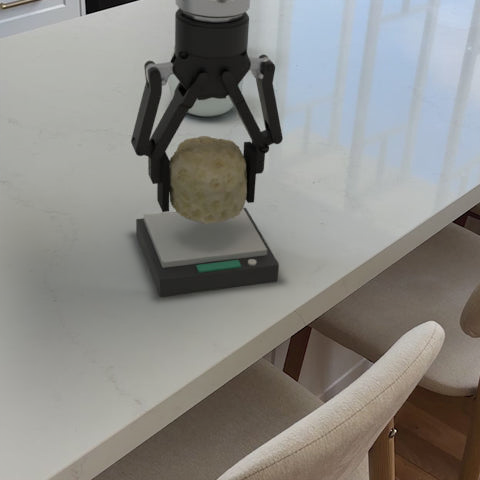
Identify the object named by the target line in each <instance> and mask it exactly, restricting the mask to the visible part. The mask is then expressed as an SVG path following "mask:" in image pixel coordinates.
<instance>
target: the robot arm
mask: <svg viewBox="0 0 480 480" xmlns="http://www.w3.org/2000/svg"><path fill="white" fill-rule="evenodd" d="M250 4H251V0H175V5H176V6H177V8H178V9H177V10H176V11H175V13H174V14H175V17H174V18H175V20H174V21H175V22H174V47H175V53H174V55H173V57H172V56H171V58H172V59H171V58H170V61H167V62H159V63H156V62H155V61H153V60H147V61H146V62H145V63H144V66H143V67H144V76H145V84H144V89H143V92H142V97H141V99H140V104H139V108H138V112H137V116H136V120H135V124H134V127H133V131H132V135H131V139H130V143H131V145H132V148H133V151H134V152H135V154H136V155H137V156H138V157H143V156H145V157H147V160H148V161H147V164H148V168H147V169H148V170H147V171H148V172H147V173H148V177H149V179H150V181H151V183H152V184H153V185H156V184H157V185H156V186H157V187H156V191H157V193H156V196H157V197H156V199H157V203H158V205H159V207H160V210H161V213H166V212H170V192H169V161H170V158H169V156H168V154H167V152H166V151H167V149H168V148H169V146H170V144H171V142H172V140H173V138H174V137H175V135H176V133H177V132H178V130H179V128H180V126H181V124H182V123H183V121H184V119H185V117H186V116H187V114H188V110H189V109H191V108H192V107H193V105H194V103H195V102H196V100H197V99H198V100H206V99H209V98H217V99H224V98H226V96H229V98H230V99H231V101H232V103H233V105H234V106H233V108H234V109H235V111H236V113H237V115H238V117H239V118H240V121H241V122H242V124H243V126H244V128H245V131H246V132H247V134H248V136H249V138H250V140H251V141H244V142H243V152H242V154H243V156H244V158H245V161H246V171H247V195H246V200H245V202H247V204H251V203H255V193H256V181H257V175H258V174H263V172H264V170H265V159H266V154H267V153H268V152H269V151H270V146H271V145H273V144H274V145H279V144H281V143H282V142H283V133H282V127H281V120H280V116H279V115H280V114H279V110H278V105H277V100H276V93H275V87H274V78H275V73H276V65H275V63H274V62H273V61H272V60H271V59H270V58H269V56H268V55H267V54H264V53H263V54H261V55H259V56H258V57H249V55H248V47H249V45H248V44H249V29H250V16H249V14H248V13H247V12H248V11H249V10H250V7H251V5H250ZM249 71H251V74H252V76H253V78H254V79H255V82H256V87H257V92H258V93H257V94H258V98H259V103H260V108H261V114H262V119H263V124H264V128H265V129H263V130H262V131H261V129H260V127H259V125H258V122H257V121H256V119H255V117H254V115H253V113H252V111H251V109H250V107H249V106H248V104H247V101H246V99H245V97H244V95H243V92H241V91H240V89H239V87H238V84H239V83H240V82H241V80H242V79H243V80H244V78H245V77H246V76H247V74H248V73H249ZM172 74H174V75H175V76H176V78H177V79H178V80H179V83H178V85H177V87H176V89H175V92H174V96H173V98H171V100H170V102H169V104H168V106H167V107H166V109H165V111H164V113H163V114H162V116H161V119H160V120H159V122H158V124H157V126H156V127H155V129H154V131H153V128H154V125H155V121H156V118H157V113H158V110H159V106H160V102H161V99H162V94H163V86H166V85H167V83H168V77H169V76H170V75H172ZM152 132H153V133H152Z"/></svg>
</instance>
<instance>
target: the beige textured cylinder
mask: <svg viewBox="0 0 480 480" xmlns="http://www.w3.org/2000/svg"><path fill="white" fill-rule="evenodd" d="M246 195H247V171H246V161H245V158H244V156H243V152H242V150H241V149H240V146H239V145H238V144H236V142H234V141H233V140H230V139H222V138H217V137H211V136H208V135H201V136H198V137H191V138H187V139H184V140H183V141H182V142H180V143H179V144H178V146H177V148H176V150H175V151H174V152H173V154H172V156H170V158H169V203H170V204H171V206H172V207H173V209H174V210H175V212H177V213H179V214H180V215H181V216H183V217H185V218H186V219H189V220H192V221H196V222H199V223H204V224H211V223H220V222H225V221H227V220H229V219H230V218H234V217H235V216H237V215H239V214H240V212H241V211H242V209H243V208H245V205H246Z"/></svg>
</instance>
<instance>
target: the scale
mask: <svg viewBox="0 0 480 480" xmlns="http://www.w3.org/2000/svg"><path fill="white" fill-rule="evenodd" d="M142 216H143V218H136V220H135V229H136V230H135V235H136V238H137V241H138V244H139V246H140V249H141V251H142V254H143V256H144V259H145V261H146V265H147V267H148V270H149V272H150V276H151V277H152V279H153V283H154V285H155V286H154V287H155V288H156V290H157V293H158V296H159V298H161V297H168V296H169V297H170V296H177V295H183V294H190V293H191V294H192V293H198V292H206V291H212V290H214V291H215V290H221V289H227V288H228V289H229V288H237V287H244V286H252V285H258V284H265V283H274V282H278V278H279V268H280V264H279V262H278V260H277V259H276V256H274V255H275V254H273V251H272V250H271V248H270V247H269V245H268V243H267V242H266V239H265V238H264V236H263V234H262V233H261V231H260V229H259V227H258V226H257V224H256V222H255V220H254V219H253V217H252V215H251V214H250V212H249V211H248V209H247V207H243V209H242V211H241V212H240V214H239V215H237V216H235V217H234V218H230V219H229V220H227V221H225V222H220V223H211V224H204V223H199V222H196V221H192V220H189V219H186V218H185V217H183V216H181V215H180V214H179V213H177V212H176V211H168V212H158V213H148V214H143V215H142Z"/></svg>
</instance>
